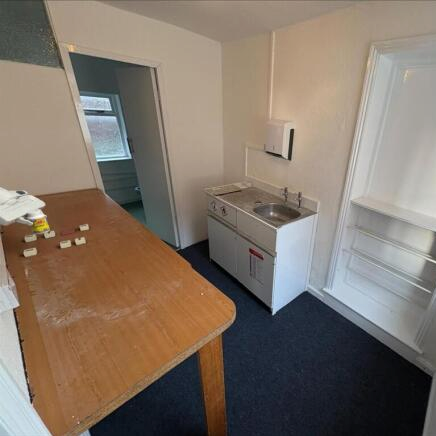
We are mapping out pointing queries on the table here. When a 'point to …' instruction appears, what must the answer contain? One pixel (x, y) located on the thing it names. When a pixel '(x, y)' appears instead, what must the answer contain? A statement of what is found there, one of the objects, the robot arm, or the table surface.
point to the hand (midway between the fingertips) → (39, 221)
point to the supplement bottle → (38, 222)
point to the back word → (52, 233)
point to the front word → (63, 245)
